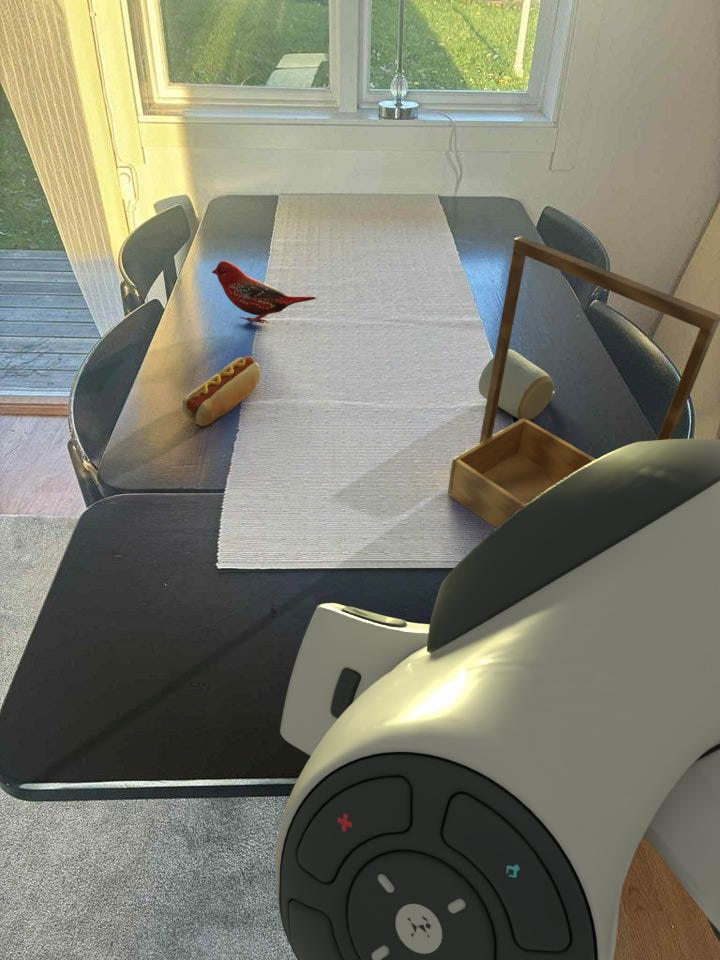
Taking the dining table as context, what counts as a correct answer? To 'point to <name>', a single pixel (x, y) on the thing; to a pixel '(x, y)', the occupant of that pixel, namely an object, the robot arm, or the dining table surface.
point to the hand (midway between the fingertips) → (496, 681)
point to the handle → (617, 285)
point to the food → (222, 391)
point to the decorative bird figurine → (252, 293)
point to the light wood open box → (512, 470)
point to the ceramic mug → (520, 386)
